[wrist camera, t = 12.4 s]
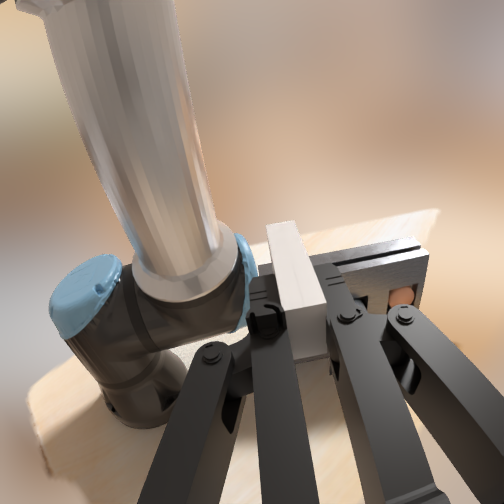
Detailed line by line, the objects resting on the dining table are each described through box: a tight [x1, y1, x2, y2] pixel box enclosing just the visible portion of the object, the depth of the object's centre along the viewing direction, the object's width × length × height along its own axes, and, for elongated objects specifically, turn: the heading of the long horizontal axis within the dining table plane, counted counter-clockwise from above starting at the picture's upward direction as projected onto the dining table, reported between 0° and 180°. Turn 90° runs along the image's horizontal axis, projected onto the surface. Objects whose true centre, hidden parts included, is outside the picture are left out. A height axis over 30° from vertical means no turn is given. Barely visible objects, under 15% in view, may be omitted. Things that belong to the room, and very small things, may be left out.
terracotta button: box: [388, 286, 414, 308], centre depth 39 cm, size 4×2×4 cm, turn 93°
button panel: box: [258, 237, 429, 364], centre depth 42 cm, size 23×5×16 cm, turn 93°
